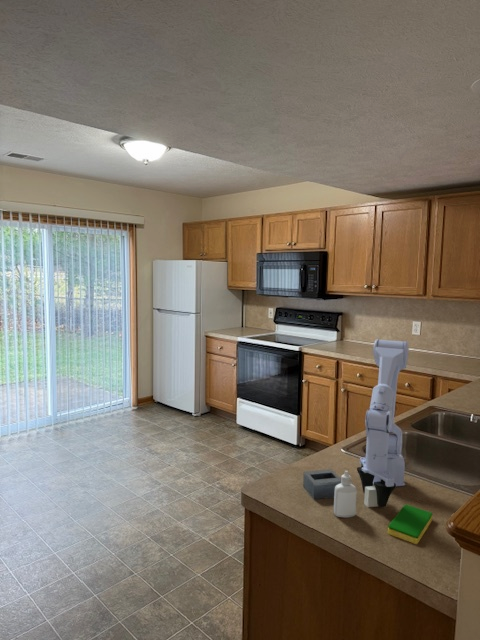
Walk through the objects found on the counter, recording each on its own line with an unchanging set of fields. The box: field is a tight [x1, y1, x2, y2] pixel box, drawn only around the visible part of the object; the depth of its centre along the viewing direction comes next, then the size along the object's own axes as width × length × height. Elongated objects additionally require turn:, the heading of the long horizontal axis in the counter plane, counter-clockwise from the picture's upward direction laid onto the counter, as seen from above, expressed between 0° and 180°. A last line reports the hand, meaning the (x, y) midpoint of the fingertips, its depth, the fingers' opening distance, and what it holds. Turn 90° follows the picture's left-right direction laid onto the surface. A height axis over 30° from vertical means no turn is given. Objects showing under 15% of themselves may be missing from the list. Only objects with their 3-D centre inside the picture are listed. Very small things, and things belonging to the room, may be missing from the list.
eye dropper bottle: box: [333, 470, 358, 518], centre depth 117 cm, size 4×6×12 cm
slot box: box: [302, 468, 341, 500], centre depth 129 cm, size 9×8×5 cm
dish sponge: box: [387, 504, 433, 545], centre depth 112 cm, size 7×14×2 cm, turn 142°
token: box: [363, 485, 378, 508], centre depth 122 cm, size 5×2×5 cm, turn 104°
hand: (374, 499), depth 122 cm, fingers open, 7 cm apart
